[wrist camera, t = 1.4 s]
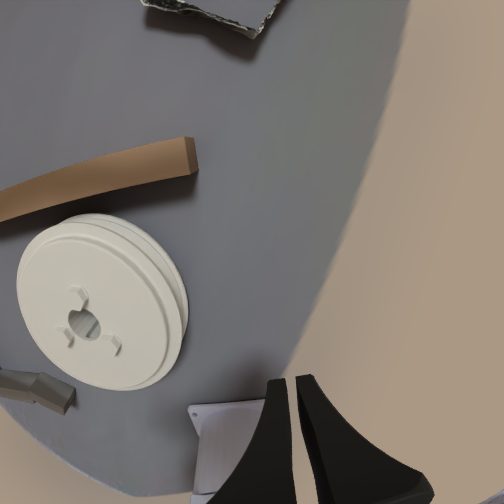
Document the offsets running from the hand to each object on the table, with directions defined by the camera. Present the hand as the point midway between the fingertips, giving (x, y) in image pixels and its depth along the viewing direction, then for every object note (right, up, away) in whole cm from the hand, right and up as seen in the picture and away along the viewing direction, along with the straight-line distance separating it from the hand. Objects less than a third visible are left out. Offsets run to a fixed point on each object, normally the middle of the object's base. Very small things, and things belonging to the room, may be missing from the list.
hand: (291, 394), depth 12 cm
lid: (-12, +3, +10) cm, 16 cm away
